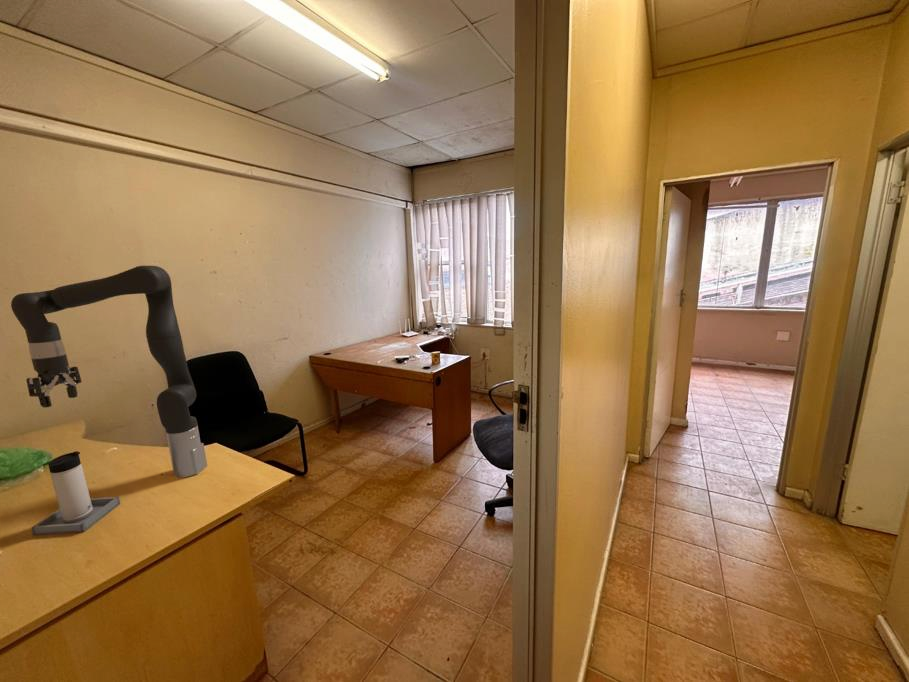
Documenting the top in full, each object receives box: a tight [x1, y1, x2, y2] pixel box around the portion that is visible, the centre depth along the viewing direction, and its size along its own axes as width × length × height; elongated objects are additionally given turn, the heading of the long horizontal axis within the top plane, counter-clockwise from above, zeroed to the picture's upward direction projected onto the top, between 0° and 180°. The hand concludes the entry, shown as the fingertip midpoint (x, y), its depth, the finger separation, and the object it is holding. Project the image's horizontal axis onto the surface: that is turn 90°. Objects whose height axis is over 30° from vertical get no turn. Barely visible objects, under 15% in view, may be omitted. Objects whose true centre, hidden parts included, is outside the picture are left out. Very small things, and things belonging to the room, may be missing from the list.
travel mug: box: [48, 450, 93, 523], centre depth 105 cm, size 6×7×20 cm
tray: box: [30, 496, 121, 536], centre depth 106 cm, size 13×12×2 cm
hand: (60, 402), depth 116 cm, fingers open, 8 cm apart
